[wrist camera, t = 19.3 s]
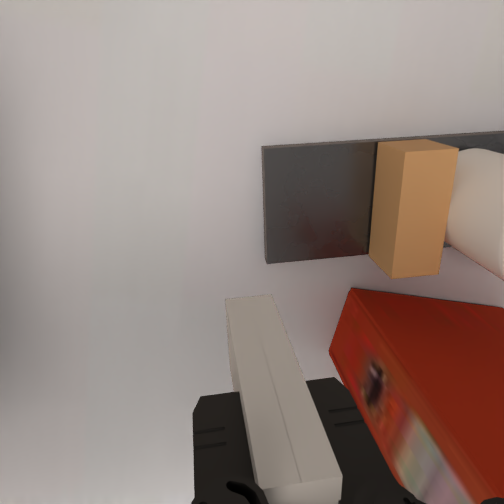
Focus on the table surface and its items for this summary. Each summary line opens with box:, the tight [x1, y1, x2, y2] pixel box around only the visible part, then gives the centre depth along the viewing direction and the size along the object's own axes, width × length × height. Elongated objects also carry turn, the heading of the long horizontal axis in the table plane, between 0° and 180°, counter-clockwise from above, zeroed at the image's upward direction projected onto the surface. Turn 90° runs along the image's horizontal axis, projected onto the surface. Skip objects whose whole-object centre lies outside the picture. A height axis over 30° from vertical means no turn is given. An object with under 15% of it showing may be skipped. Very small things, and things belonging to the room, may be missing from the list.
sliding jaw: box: [369, 139, 459, 279], centre depth 33 cm, size 4×10×5 cm, turn 2°
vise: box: [262, 131, 504, 264], centre depth 34 cm, size 26×10×6 cm, turn 92°
